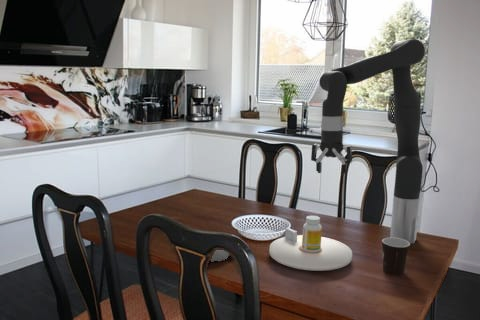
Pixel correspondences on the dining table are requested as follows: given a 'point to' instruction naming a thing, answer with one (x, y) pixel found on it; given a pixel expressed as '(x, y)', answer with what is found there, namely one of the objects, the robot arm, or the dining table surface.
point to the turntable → (309, 253)
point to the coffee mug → (394, 255)
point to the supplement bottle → (312, 234)
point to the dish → (219, 255)
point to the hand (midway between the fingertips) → (331, 173)
